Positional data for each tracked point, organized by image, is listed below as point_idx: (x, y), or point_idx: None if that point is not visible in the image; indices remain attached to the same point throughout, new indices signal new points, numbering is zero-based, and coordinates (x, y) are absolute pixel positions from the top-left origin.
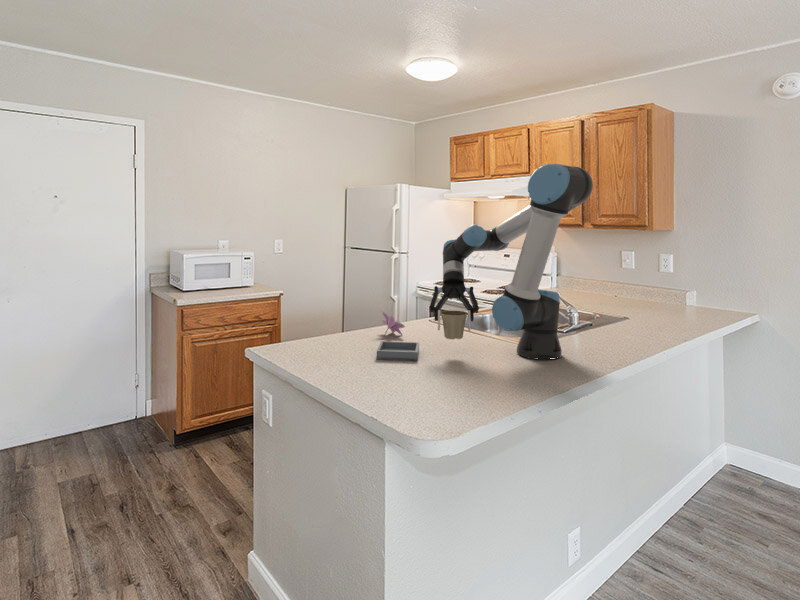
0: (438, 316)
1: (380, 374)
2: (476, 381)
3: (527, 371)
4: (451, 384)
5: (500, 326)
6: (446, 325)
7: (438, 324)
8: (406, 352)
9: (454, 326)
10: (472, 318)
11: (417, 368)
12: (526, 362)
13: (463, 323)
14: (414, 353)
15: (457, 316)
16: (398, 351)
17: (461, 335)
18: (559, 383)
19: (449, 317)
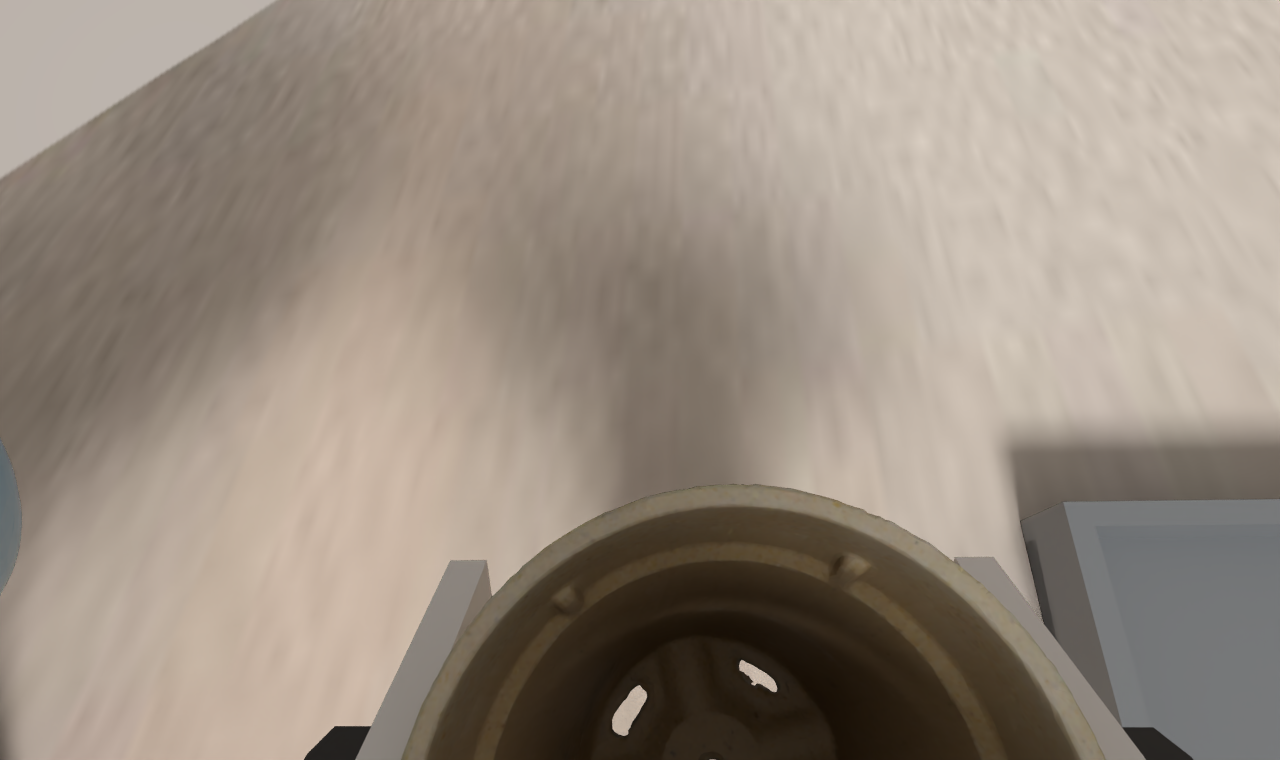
0: (1103, 720)
1: (1174, 173)
2: (564, 143)
3: (177, 365)
4: (708, 84)
5: (12, 485)
6: (853, 637)
7: (995, 572)
8: (1175, 500)
9: (713, 587)
10: (342, 738)
11: (965, 325)
12: (61, 613)
13: (553, 671)
14: (1087, 504)
15: (667, 520)
16: (1267, 505)
17: (605, 677)
18: (103, 177)
19: (832, 540)
